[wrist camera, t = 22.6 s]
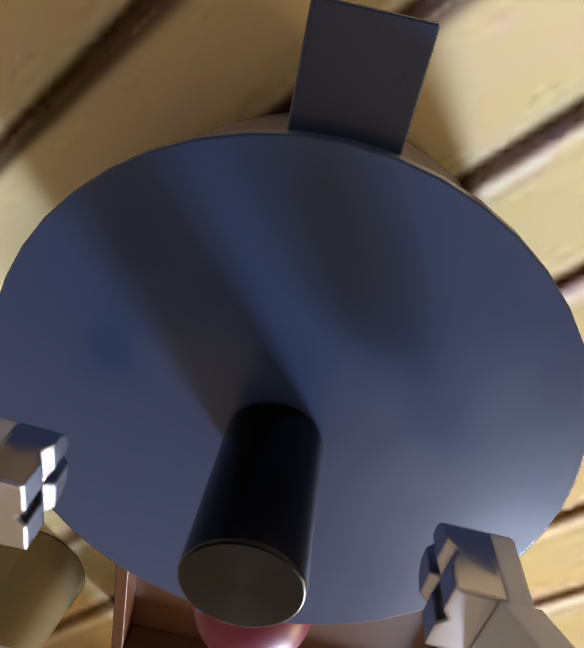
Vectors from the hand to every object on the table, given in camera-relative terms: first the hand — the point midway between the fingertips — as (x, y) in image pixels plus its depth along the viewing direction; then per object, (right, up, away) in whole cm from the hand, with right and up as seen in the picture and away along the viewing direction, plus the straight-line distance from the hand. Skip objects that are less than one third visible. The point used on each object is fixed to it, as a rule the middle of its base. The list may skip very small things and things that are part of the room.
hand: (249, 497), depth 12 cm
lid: (0, +1, +2) cm, 2 cm away
